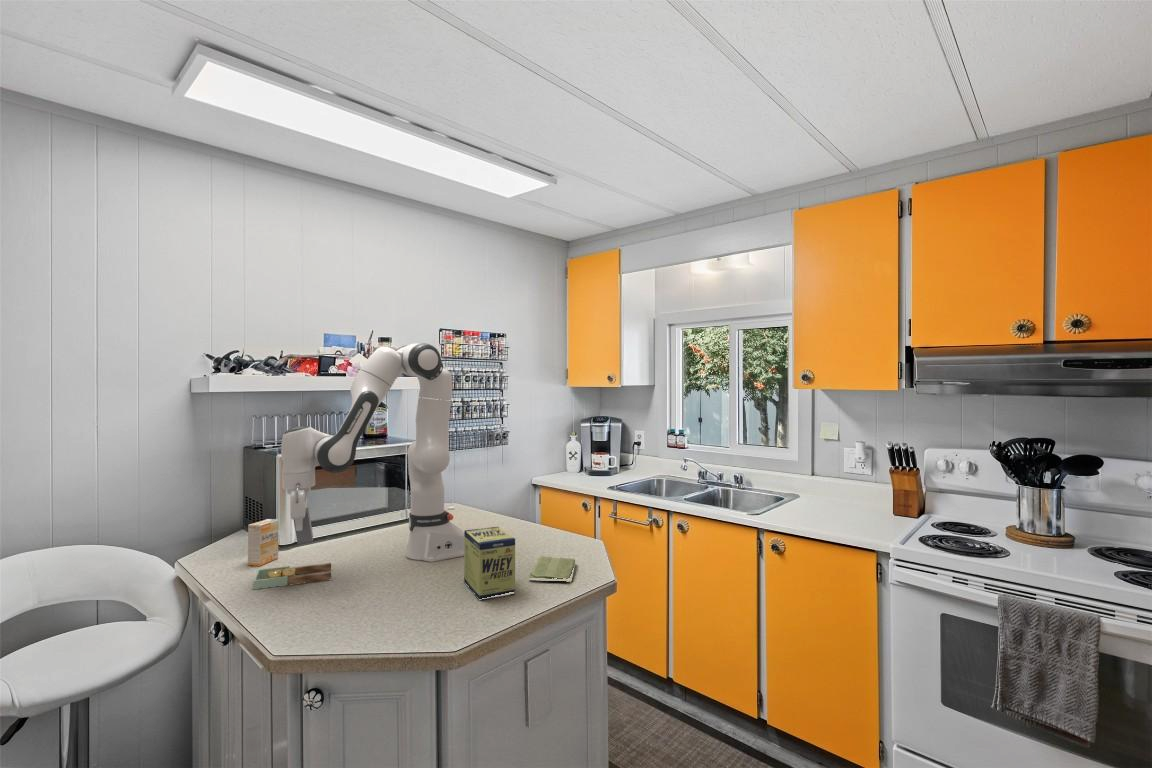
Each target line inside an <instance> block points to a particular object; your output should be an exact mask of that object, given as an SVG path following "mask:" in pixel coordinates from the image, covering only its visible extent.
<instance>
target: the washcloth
mask: <svg viewBox="0 0 1152 768" xmlns="http://www.w3.org/2000/svg"><path fill="white" fill-rule="evenodd" d="M574 565H575V566H576V559H575V558H569V557H565V558H564V557H551V556H543V555H542V556H541V555H540V557H539V558H538V559H537V562H536V564H535V566H534V568H533V570H532V571H531V572H530V575H529V577H528V579H529V578H545V579H552V578H553V579H554V578H557V579H563V578H566V579H568V578H570V576H571V574H572V570H573V568H574Z"/></svg>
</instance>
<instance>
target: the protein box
mask: <svg viewBox="0 0 1152 768" xmlns="http://www.w3.org/2000/svg"><path fill="white" fill-rule="evenodd" d="M463 532H464V559H463V561H464V562H463V563H464V564H463V566H464V567H463V569H464V570H463V576H464V578H463V583H464V582H465V583H466V584H467V585H468V586H469V588H470V589H471V590H472V591H473V592H474V593H475V595H476V596H477V597H478V598H479V599H482V598H487V597H491V596H495V595H501V594H505V593H509V592H514V591H515V592H516V538H515V537H513V536H512V535H510V534H509V533H507V532H506V531H505V530H503V529H502V528H501V527H499V526H493V527H484V528H483V527H482V528H474V529H473V528H472V529H466V530H464V531H463ZM465 583H464V584H465ZM466 584H465V585H466ZM467 585H466V586H467ZM468 586H467V587H468ZM469 588H468V589H469ZM470 589H469V590H470ZM471 590H470V591H471ZM472 591H471V592H472ZM475 595H474V596H475ZM476 596H475V597H476ZM477 597H476V598H477Z"/></svg>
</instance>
